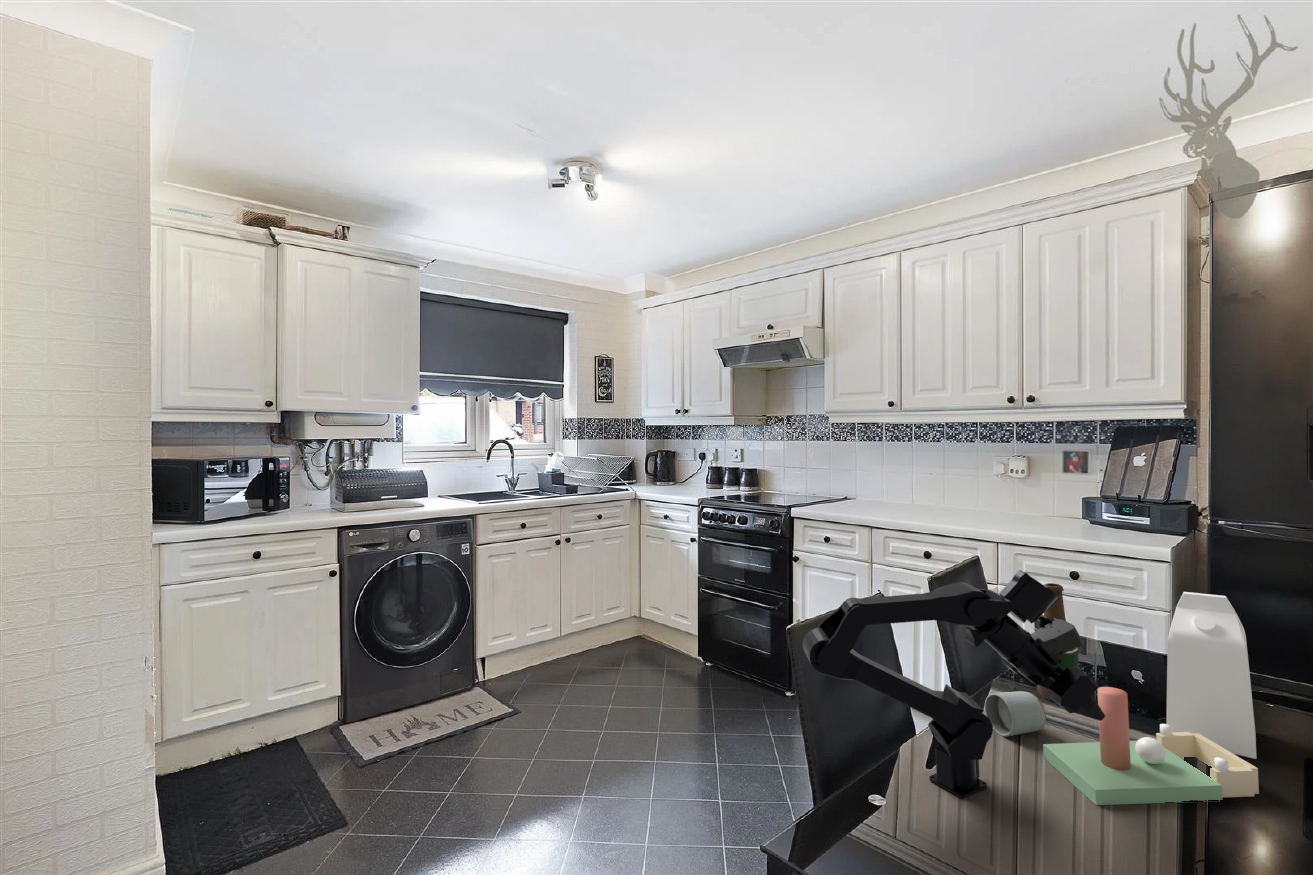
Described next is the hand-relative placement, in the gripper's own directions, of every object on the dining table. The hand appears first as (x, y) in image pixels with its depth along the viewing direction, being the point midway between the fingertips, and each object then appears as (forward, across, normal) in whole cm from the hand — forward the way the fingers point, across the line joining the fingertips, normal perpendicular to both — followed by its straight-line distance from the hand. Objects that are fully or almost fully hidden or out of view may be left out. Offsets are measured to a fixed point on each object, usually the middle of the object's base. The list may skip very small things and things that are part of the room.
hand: (1084, 705), depth 104 cm
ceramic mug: (+7, +18, +11) cm, 22 cm away
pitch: (+13, 0, +4) cm, 14 cm away
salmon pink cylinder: (+10, 0, +4) cm, 11 cm away
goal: (+22, 0, -4) cm, 22 cm away
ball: (+13, 0, -2) cm, 13 cm away
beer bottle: (+18, +31, 0) cm, 36 cm away
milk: (+30, +12, -12) cm, 35 cm away
